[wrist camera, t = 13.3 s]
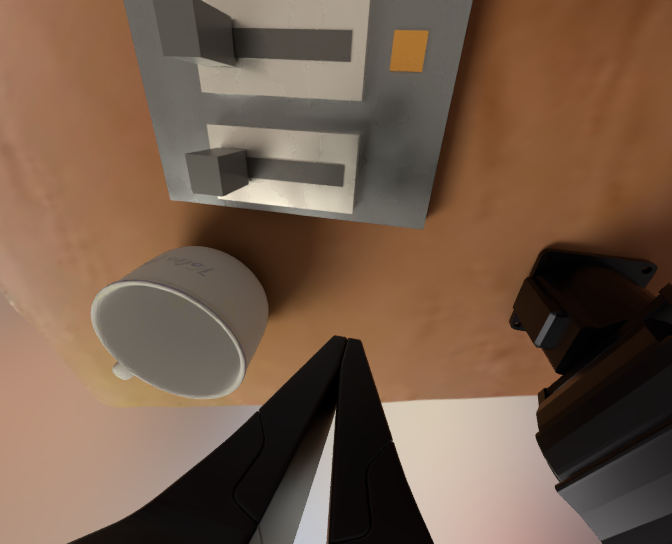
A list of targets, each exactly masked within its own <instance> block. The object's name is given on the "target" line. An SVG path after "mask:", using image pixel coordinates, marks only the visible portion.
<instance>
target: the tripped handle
mask: <svg viewBox="0 0 672 544" xmlns="http://www.w3.org/2000/svg"><path fill="white" fill-rule="evenodd" d="M153 5H154V10H155V15H156V20H157V25H158V30H159V35H160V40H161V45H162V51H163V56H165V57H170V58H174V59H178V60H182V61H187V62H191V63H195V64H199V65H204V66H226V67H235V56H234V46H233V36H232V26H231V17H230V16H229V15H227V14H225V13H223V12H221V11H220V10H218V9H216V8H214V7H213V6H211V5H209V4H207V3H205V2H204V1H202V0H153Z"/></svg>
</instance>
